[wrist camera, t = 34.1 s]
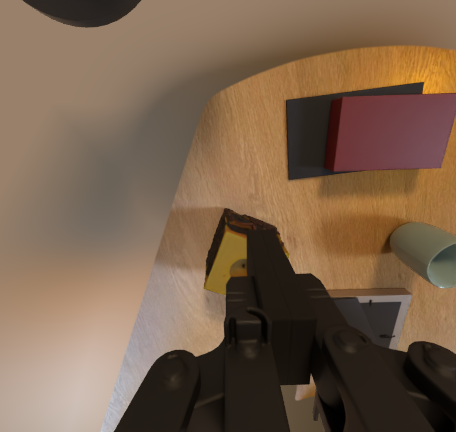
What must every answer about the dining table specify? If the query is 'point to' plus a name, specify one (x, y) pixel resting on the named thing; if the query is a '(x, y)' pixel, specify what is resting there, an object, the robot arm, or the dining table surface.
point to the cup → (427, 252)
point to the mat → (321, 128)
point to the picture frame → (375, 312)
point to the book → (389, 132)
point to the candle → (231, 249)
